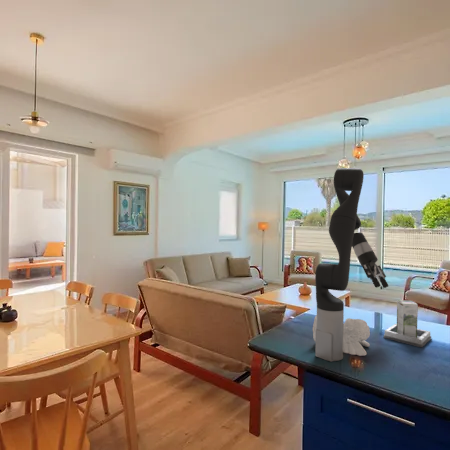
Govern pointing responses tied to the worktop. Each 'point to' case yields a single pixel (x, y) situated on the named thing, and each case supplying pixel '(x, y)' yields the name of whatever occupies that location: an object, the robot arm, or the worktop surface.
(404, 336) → the tray
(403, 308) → the syrup box
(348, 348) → the cherub figurine
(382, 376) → the worktop surface
